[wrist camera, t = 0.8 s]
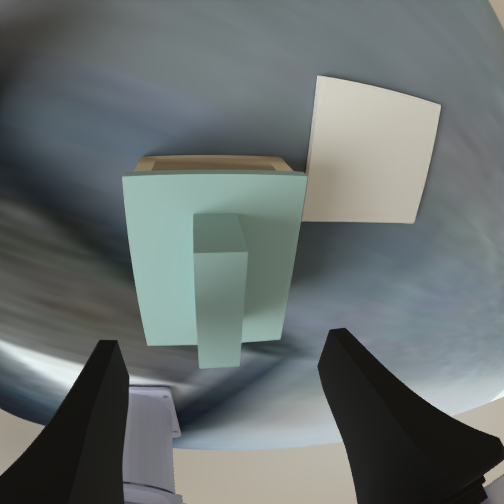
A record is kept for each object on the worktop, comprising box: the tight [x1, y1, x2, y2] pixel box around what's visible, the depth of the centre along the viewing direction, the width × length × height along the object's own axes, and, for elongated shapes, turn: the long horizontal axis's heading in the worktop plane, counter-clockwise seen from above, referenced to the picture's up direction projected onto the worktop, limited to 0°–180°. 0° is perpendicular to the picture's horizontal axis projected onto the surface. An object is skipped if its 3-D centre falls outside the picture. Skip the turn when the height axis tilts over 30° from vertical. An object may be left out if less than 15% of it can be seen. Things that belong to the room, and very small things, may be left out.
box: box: [133, 155, 293, 172], centre depth 16 cm, size 9×7×3 cm
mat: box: [301, 76, 441, 223], centre depth 16 cm, size 8×8×1 cm
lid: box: [122, 170, 308, 369], centre depth 13 cm, size 9×7×4 cm
